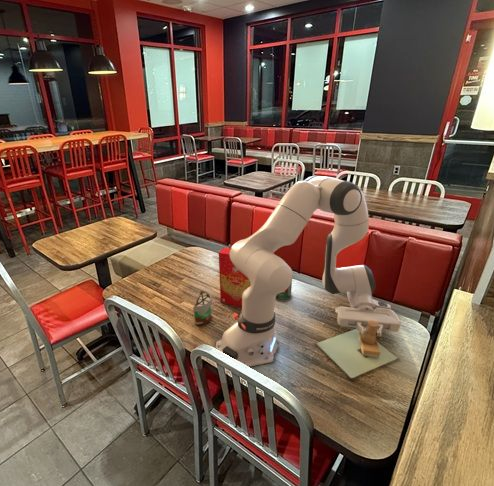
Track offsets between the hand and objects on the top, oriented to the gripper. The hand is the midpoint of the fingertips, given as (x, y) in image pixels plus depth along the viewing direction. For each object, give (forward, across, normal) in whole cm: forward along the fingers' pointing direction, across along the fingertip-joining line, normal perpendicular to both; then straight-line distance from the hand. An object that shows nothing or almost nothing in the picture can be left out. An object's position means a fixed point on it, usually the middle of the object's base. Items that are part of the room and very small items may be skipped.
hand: (372, 334), depth 104 cm
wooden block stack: (-1, 0, +6) cm, 7 cm away
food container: (-8, -60, +8) cm, 62 cm away
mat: (0, -4, +8) cm, 9 cm away
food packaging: (-21, -49, +8) cm, 54 cm away
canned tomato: (-30, -30, +8) cm, 43 cm away
